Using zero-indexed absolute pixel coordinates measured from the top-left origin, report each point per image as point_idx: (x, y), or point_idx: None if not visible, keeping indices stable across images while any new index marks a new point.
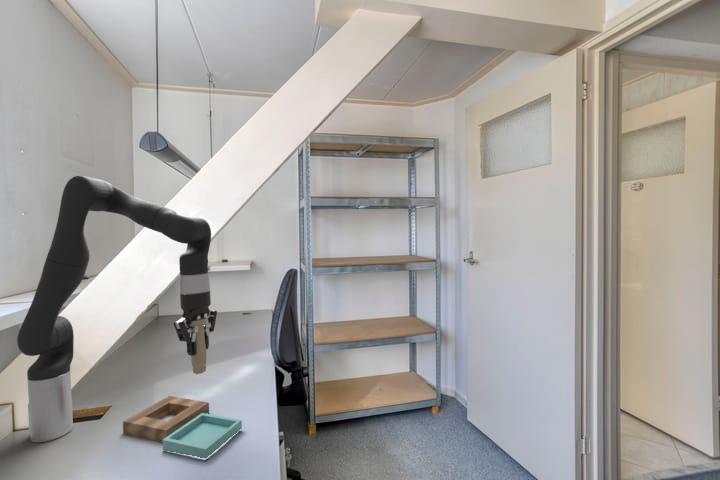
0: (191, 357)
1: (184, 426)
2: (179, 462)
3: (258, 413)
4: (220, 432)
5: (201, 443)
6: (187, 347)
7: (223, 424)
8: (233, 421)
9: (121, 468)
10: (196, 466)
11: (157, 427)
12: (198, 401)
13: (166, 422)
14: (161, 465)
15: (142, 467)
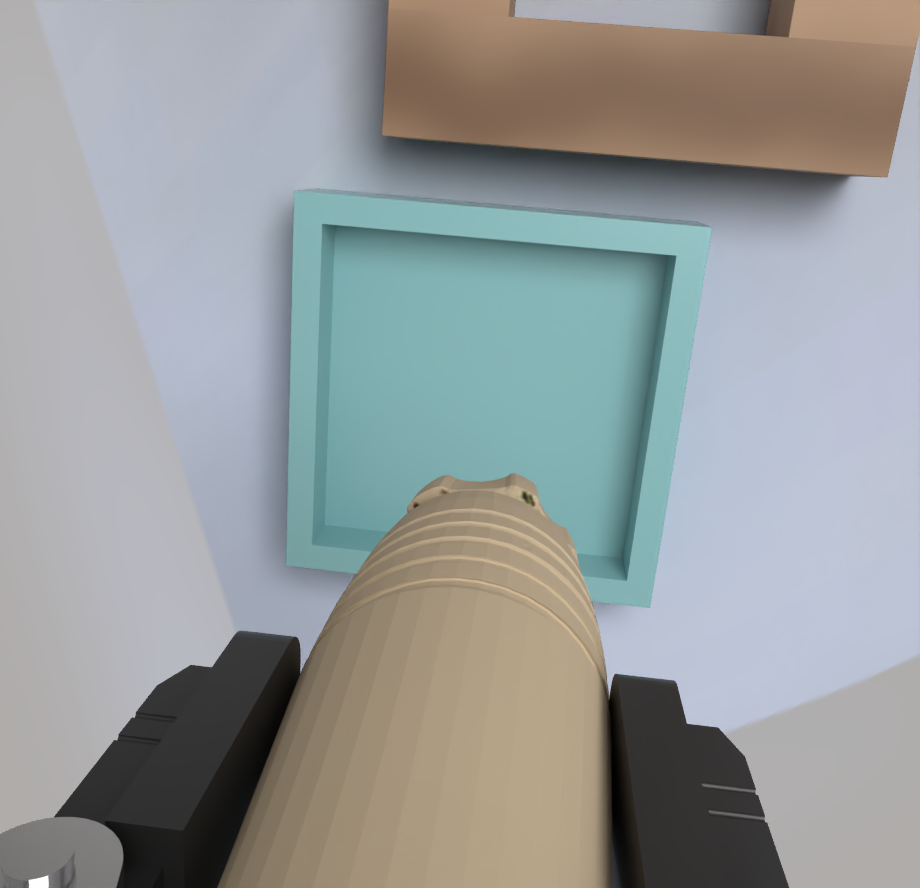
0: (338, 604)
1: (488, 226)
2: (254, 387)
3: (884, 577)
4: (554, 478)
5: (410, 430)
6: (103, 774)
7: (638, 454)
8: (630, 553)
9: (98, 53)
10: (254, 508)
11: (399, 18)
12: (902, 48)
13: (485, 33)
14: (200, 297)
15: (149, 190)
